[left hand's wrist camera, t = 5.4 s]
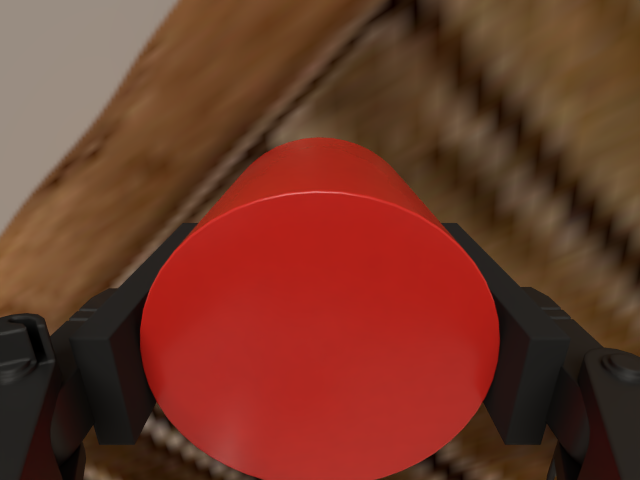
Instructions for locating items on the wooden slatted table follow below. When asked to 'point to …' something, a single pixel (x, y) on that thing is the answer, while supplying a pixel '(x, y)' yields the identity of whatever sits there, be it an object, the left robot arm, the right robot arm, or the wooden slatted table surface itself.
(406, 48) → the wooden slatted table surface
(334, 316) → the canister
